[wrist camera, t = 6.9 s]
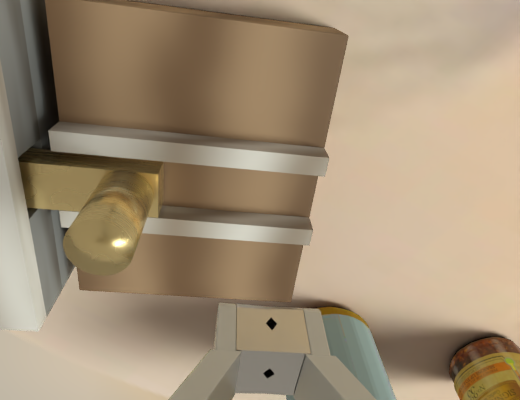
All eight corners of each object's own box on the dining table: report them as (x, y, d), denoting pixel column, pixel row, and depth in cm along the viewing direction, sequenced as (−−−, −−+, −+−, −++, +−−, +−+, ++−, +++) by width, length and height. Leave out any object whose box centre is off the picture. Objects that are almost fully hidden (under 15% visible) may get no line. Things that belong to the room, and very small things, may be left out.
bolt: (163, 158, 20) (138, 223, 15) (163, 203, 21) (139, 278, 16) (-29, 140, 19) (-129, 203, 14) (-17, 188, 20) (-105, 262, 15)
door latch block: (334, 28, 21) (369, 47, 15) (285, 272, 28) (297, 343, 23) (-88, -29, 18) (-226, -31, 13) (-17, 252, 26) (-84, 325, 21)
